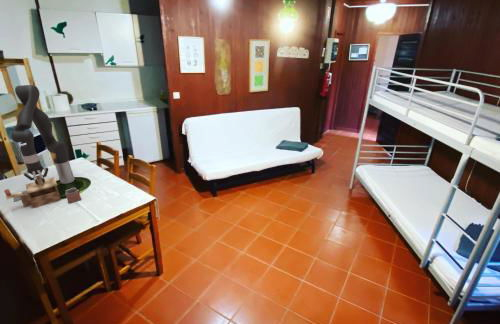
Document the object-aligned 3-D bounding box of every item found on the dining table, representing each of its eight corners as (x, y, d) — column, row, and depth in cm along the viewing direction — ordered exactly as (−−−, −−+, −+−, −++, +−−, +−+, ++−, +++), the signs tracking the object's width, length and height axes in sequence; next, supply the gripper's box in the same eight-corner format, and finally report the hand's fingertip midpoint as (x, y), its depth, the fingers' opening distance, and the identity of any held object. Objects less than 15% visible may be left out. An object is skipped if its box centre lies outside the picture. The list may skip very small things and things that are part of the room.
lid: (54, 178, 185) (51, 170, 182) (57, 185, 177) (54, 177, 174) (26, 185, 175) (22, 178, 172) (27, 193, 167) (24, 185, 164)
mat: (44, 186, 196) (44, 186, 196) (46, 193, 188) (45, 192, 188) (13, 194, 186) (13, 193, 185) (13, 201, 178) (13, 201, 177)
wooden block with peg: (22, 193, 171) (19, 186, 169) (23, 195, 170) (19, 187, 167) (6, 198, 166) (3, 190, 164) (7, 199, 165) (3, 191, 162)
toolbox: (58, 192, 189) (55, 182, 186) (61, 199, 181) (57, 189, 178) (23, 202, 177) (19, 192, 174) (24, 210, 169) (20, 199, 166)
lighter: (80, 197, 184) (77, 185, 180) (82, 199, 182) (78, 187, 178) (67, 202, 179) (63, 189, 175) (68, 204, 177) (64, 191, 173)
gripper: (44, 155, 174) (52, 178, 182) (17, 161, 166) (27, 184, 173) (45, 159, 169) (54, 182, 177) (18, 165, 161) (28, 189, 168)
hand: (40, 183), depth 175 cm, fingers closed on lid, 2 cm apart
